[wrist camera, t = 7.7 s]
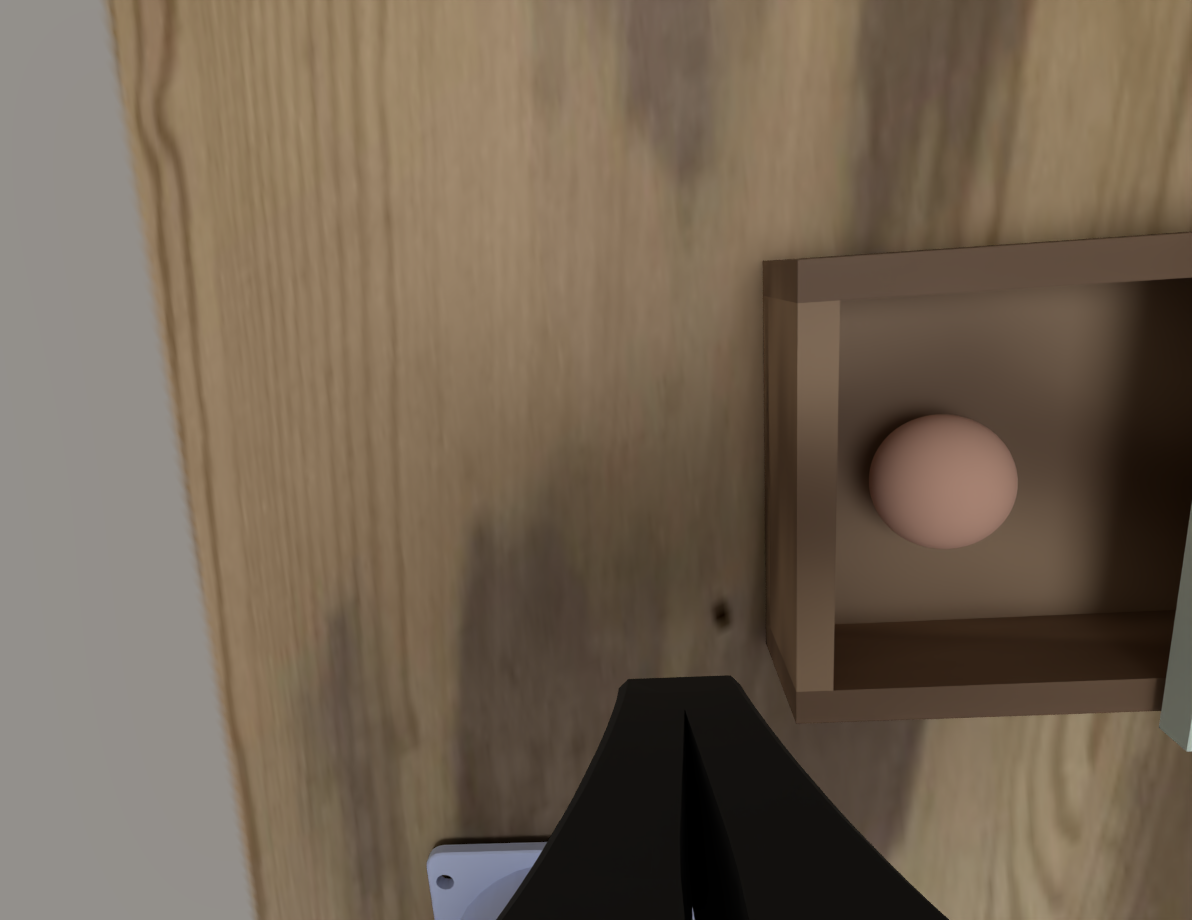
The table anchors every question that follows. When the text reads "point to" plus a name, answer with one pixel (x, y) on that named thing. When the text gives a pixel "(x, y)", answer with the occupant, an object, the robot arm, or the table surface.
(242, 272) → the table surface
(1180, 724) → the lid
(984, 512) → the ball
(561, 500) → the table surface
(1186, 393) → the walnut box
